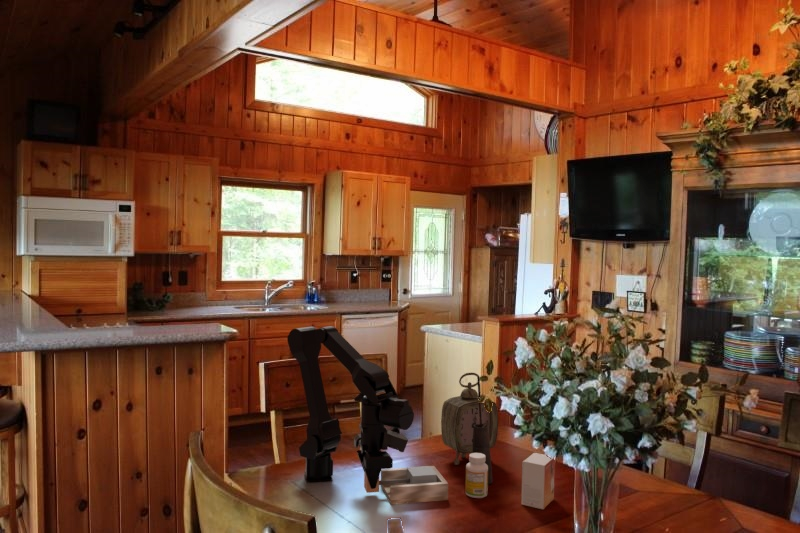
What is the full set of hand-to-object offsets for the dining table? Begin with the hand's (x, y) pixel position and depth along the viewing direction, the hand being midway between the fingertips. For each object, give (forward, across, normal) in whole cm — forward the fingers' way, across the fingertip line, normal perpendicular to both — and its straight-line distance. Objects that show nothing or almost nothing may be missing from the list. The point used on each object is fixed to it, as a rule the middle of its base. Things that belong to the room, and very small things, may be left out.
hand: (371, 485), depth 153 cm
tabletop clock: (+3, +20, -32) cm, 37 cm away
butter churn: (+3, +4, -30) cm, 31 cm away
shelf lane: (+2, 0, -10) cm, 11 cm away
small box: (+3, -11, -38) cm, 40 cm away
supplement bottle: (+3, -4, -26) cm, 26 cm away
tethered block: (+1, 0, -7) cm, 7 cm away
